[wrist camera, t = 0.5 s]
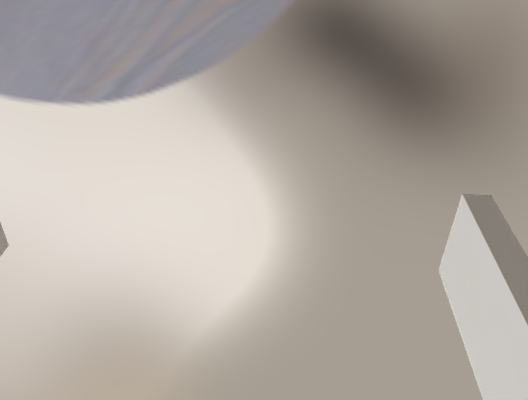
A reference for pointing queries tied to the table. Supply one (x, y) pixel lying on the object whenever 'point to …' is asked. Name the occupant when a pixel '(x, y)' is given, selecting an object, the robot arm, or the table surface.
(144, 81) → the table surface
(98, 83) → the table surface
